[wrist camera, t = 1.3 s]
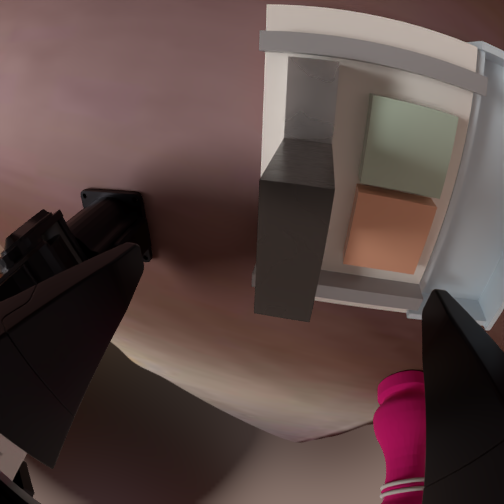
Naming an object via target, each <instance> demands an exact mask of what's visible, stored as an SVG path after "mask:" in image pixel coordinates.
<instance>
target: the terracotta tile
mask: <svg viewBox="0 0 504 504" xmlns="http://www.w3.org/2000/svg"><path fill="white" fill-rule="evenodd" d="M436 210H437V206H436V205H435V203H434V202H433V200H432V199H431V198H428V197H423V196H419V195H414V194H409V193H404V192H399V191H394V190H389V189H384V188H379V187H373V186H368V185H362V184H356V190H355V195H354V200H353V205H352V211H351V216H350V220H349V225H348V230H347V235H346V239H345V244H344V248H343V264H347V265H354V266H360V267H367V268H373V269H380V270H386V271H393V272H400V273H406V274H413V275H414V272H415V270H416V267H417V265H418V262H419V259H420V257H421V254H422V251H423V249H424V246H425V243H426V240H427V237H428V234H429V232H430V229H431V226H432V223H433V219H434V216H435V213H436Z"/></svg>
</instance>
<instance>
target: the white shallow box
mask: <svg viewBox="0 0 504 504" xmlns="http://www.w3.org/2000/svg"><path fill="white" fill-rule="evenodd" d="M477 49H478V47H476V46H473V45H471V44H469V43H466V42H464V41H461V40H458V39H456V38H453V37H450V36H447V35H445V34H442V33H439V32H436V31H433V30H429V29H426V28H423V27H420V26H416V25H413V24H409V23H405V22H401V21H397V20H393V19H389V18H384V17H380V16H375V15H370V14H365V13H359V12H353V11H346V10H339V9H331V8H323V7H312V6H298V5H273V4H267V16H266V31H260V40H259V50H260V51H263V52H265V75H264V103H263V130H262V156H261V176H262V174H263V173H264V171H265V169H266V168H267V166H268V164H269V162H270V161H271V159H272V157H273V156H274V154H275V152H276V150H277V149H278V147H279V145H280V144H281V142H282V140H283V138H284V126H285V109H286V91H287V71H288V56H290V57H302V58H313V59H322V60H330V61H337V62H340V64H339V78H338V90H337V101H336V112H335V122H334V131H333V140H332V150H333V164H334V180H335V193H334V199H333V205H332V212H331V217H330V223H329V229H328V235H327V240H326V245H325V251H324V256H323V261H322V266H321V271H320V276H319V281H318V286H317V290H316V295H315V300H316V301H322V302H329V303H336V304H343V305H350V306H357V307H364V308H372V309H379V310H387V311H395V312H403V313H406V312H407V310H416V311H418V309H419V307H420V305H421V303H422V301H423V296H422V293H421V289H420V286H419V283H420V281H421V278H422V276H423V274H424V271H425V269H426V266H427V264H428V261H429V259H430V256H431V254H432V251H433V249H434V246H435V243H436V240H437V238H438V235H439V232H440V229H441V226H442V223H443V220H444V217H445V214H446V211H447V208H448V205H449V202H450V198H451V195H452V191H453V188H454V184H455V181H456V177H457V173H458V169H459V165H460V161H461V157H462V153H463V148H464V144H465V139H466V134H467V129H468V124H469V118H470V112H471V106H472V99H473V93H476V94H479V95H483V96H486V93H487V84H488V78H487V77H485V76H483V75H480V74H478V73H476V64H477ZM369 93H372V94H377V95H382V96H387V97H391V98H396V99H400V100H404V101H408V102H412V103H416V104H420V105H424V106H427V107H431V108H434V109H438V110H441V111H444V112H448V113H451V114H453V115H455V116H457V117H459V118H458V124H457V129H456V135H455V140H454V144H453V149H452V154H451V158H450V162H449V166H448V170H447V174H446V178H445V182H444V186H443V189H442V193H441V196H440V199H437V198H433V197H428V196H424V195H419V194H415V193H410V192H405V191H400V190H395V189H390V188H385V187H379V186H374V185H368V184H363V183H360V180H359V177H358V172H359V166H360V160H361V154H362V147H363V141H364V134H365V126H366V119H367V110H368V102H369ZM356 184H362V185H368V186H373V187H379V188H384V189H389V190H394V191H399V192H404V193H409V194H414V195H419V196H423V197H428V198H431V199H432V200H433V202H434V203H435V205H436V206H437V210H436V213H435V216H434V219H433V223H432V226H431V229H430V232H429V234H428V237H427V240H426V243H425V246H424V249H423V251H422V254H421V257H420V259H419V262H418V265H417V267H416V270H415V272H414V275H413V274H406V273H400V272H393V271H386V270H380V269H373V268H367V267H360V266H354V265H347V264H343V248H344V244H345V239H346V235H347V230H348V225H349V220H350V216H351V211H352V205H353V200H354V195H355V190H356ZM255 279H256V265H255V267H254V270H253V273H252V287H255Z"/></svg>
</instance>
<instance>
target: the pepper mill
mask: <svg viewBox="0 0 504 504" xmlns="http://www.w3.org/2000/svg"><path fill="white" fill-rule="evenodd" d="M378 403H379V404H380V407H379V408H378V409H377V411H376V412H375V414H374V418H373V423H374V431H375V435H376V438H377V440H378V442H379V444H380V446H381V448H382V450H383V453H384V456H385V460H386V480H385V484H384V485H383V486H381V491H382V492H381V493H382V494H381V495H380V498H381V499H383V502H382V503H381V504H422V499H423V489H424V488H425V487H424V478H425V459H426V407H425V387H424V373H423V372H421V371H416V370H408V371H402V372H398V373H395V374H392V375H390V376H388V377H387V378H385V379H384V380H383V381H382V382H381V383H380V384H379V386H378Z"/></svg>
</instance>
